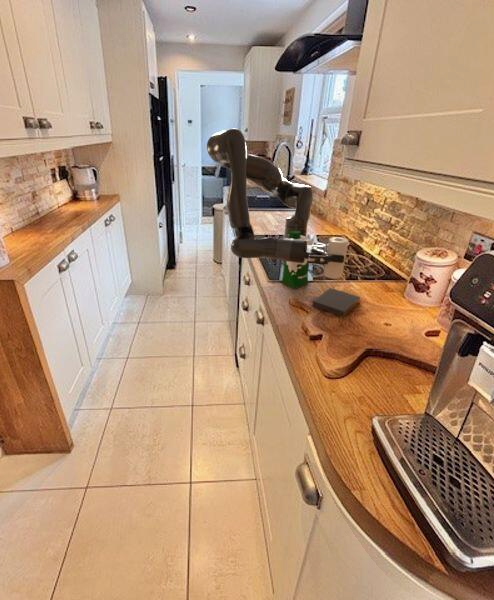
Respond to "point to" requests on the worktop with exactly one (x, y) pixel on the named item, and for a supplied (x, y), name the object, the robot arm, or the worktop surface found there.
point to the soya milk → (296, 265)
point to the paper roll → (337, 248)
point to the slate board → (336, 302)
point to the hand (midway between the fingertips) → (344, 255)
